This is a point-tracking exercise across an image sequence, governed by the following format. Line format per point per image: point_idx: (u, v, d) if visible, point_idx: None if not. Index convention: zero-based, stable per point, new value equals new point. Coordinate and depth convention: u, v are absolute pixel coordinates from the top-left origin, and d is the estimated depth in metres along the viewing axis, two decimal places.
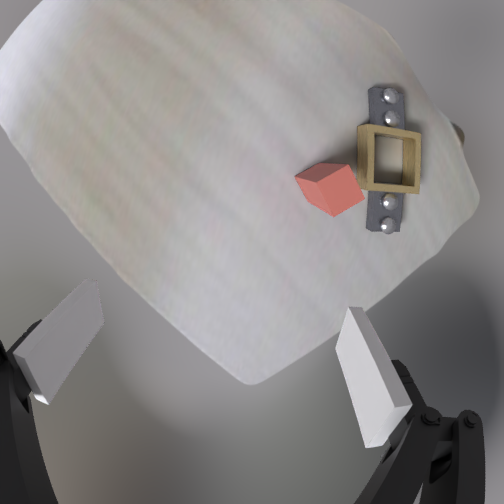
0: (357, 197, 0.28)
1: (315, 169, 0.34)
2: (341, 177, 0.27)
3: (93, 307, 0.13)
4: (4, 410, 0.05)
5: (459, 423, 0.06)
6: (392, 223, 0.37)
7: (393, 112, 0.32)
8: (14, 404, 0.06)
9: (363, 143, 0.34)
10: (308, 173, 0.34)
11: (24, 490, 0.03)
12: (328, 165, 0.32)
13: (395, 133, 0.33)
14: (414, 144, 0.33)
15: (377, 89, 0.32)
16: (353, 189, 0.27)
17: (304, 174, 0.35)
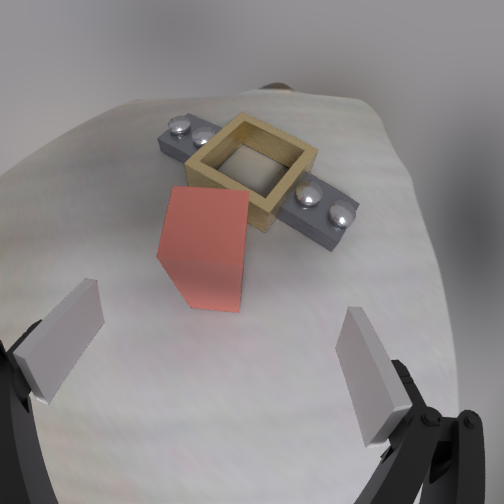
0: (238, 201, 0.14)
1: None
2: (182, 208, 0.14)
3: (93, 307, 0.13)
4: (4, 410, 0.05)
5: (459, 423, 0.06)
6: (341, 205, 0.24)
7: (197, 130, 0.27)
8: (14, 404, 0.06)
9: (207, 185, 0.25)
10: None
11: (24, 490, 0.03)
12: None
13: (220, 138, 0.26)
14: (251, 126, 0.27)
15: (162, 136, 0.27)
16: (218, 201, 0.14)
17: None
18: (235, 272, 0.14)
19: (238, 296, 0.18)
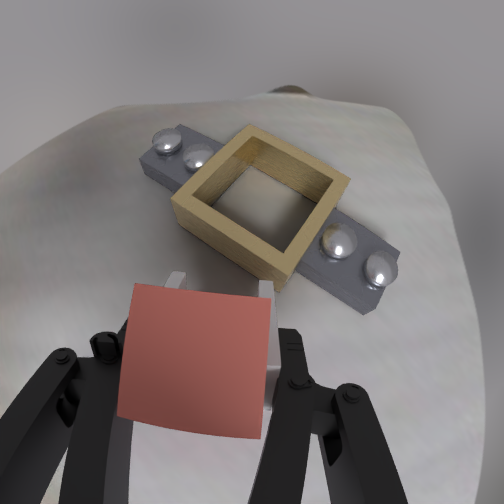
0: (250, 321, 0.08)
1: None
2: (152, 333, 0.07)
3: None
4: (105, 414, 0.06)
5: (337, 400, 0.08)
6: (381, 258, 0.18)
7: (190, 149, 0.21)
8: None
9: (203, 229, 0.19)
10: None
11: (99, 502, 0.04)
12: None
13: (220, 161, 0.19)
14: (261, 143, 0.21)
15: (146, 156, 0.21)
16: (215, 320, 0.08)
17: None
18: None
19: None
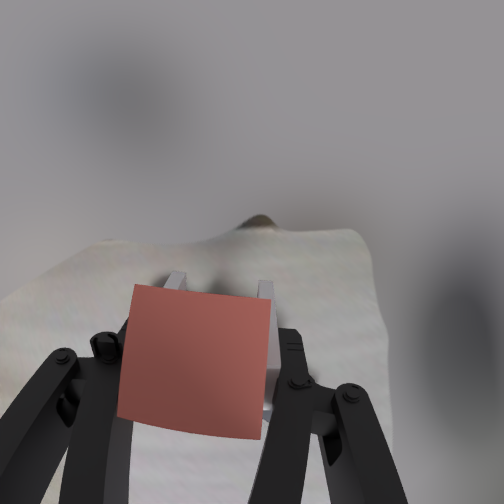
0: (250, 322, 0.08)
1: None
2: (152, 333, 0.07)
3: None
4: (105, 414, 0.06)
5: (337, 400, 0.08)
6: None
7: None
8: None
9: None
10: None
11: (99, 502, 0.04)
12: None
13: None
14: None
15: None
16: (215, 321, 0.08)
17: None
18: None
19: None
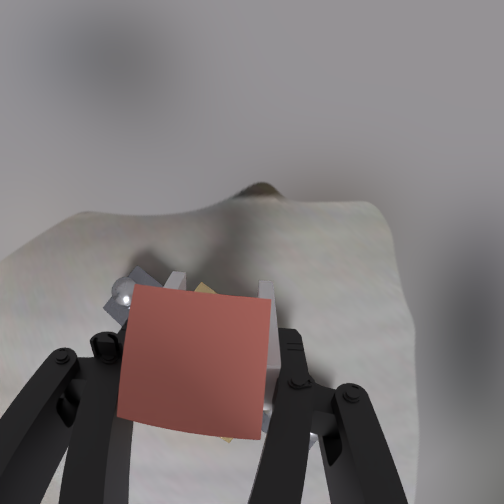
0: (250, 322, 0.08)
1: None
2: (151, 333, 0.07)
3: None
4: (105, 414, 0.06)
5: (337, 401, 0.08)
6: None
7: None
8: None
9: None
10: None
11: (99, 502, 0.04)
12: None
13: None
14: None
15: (108, 305, 0.22)
16: (215, 321, 0.08)
17: None
18: None
19: None
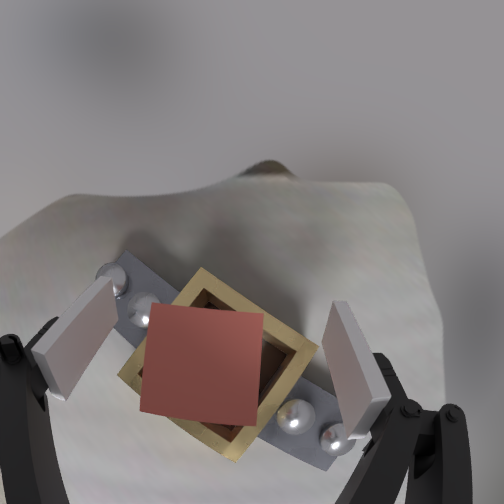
0: (247, 332, 0.09)
1: None
2: (167, 342, 0.09)
3: (108, 304, 0.13)
4: (20, 408, 0.05)
5: (441, 417, 0.07)
6: (339, 431, 0.15)
7: (134, 299, 0.18)
8: (30, 403, 0.06)
9: None
10: None
11: (36, 490, 0.03)
12: None
13: None
14: (214, 295, 0.18)
15: None
16: (218, 331, 0.09)
17: None
18: None
19: None
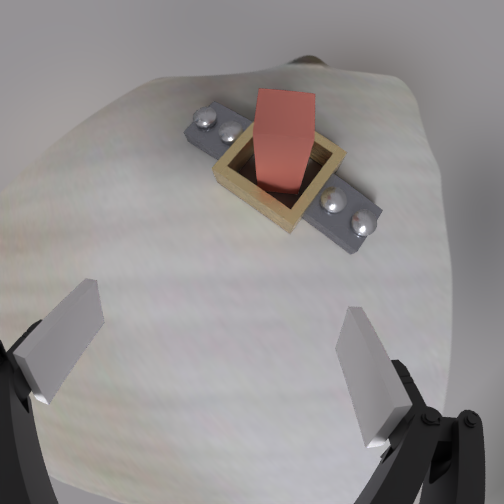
0: (307, 100, 0.17)
1: None
2: (268, 103, 0.18)
3: (93, 307, 0.13)
4: (4, 410, 0.05)
5: (459, 423, 0.06)
6: (364, 215, 0.24)
7: (224, 125, 0.26)
8: (14, 404, 0.06)
9: (235, 189, 0.26)
10: None
11: (24, 490, 0.03)
12: None
13: (247, 138, 0.25)
14: None
15: (189, 129, 0.27)
16: (293, 99, 0.18)
17: None
18: (307, 146, 0.18)
19: (302, 173, 0.23)
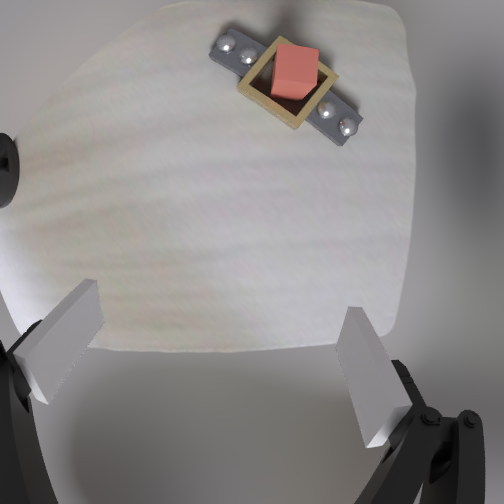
0: (313, 54, 0.22)
1: None
2: (285, 56, 0.22)
3: (93, 307, 0.13)
4: (5, 410, 0.05)
5: (459, 423, 0.06)
6: (349, 121, 0.32)
7: (242, 51, 0.29)
8: (14, 404, 0.06)
9: (254, 99, 0.32)
10: None
11: (24, 490, 0.03)
12: (274, 62, 0.27)
13: (263, 63, 0.29)
14: None
15: (212, 52, 0.29)
16: (303, 53, 0.22)
17: (271, 87, 0.30)
18: (311, 86, 0.24)
19: (305, 94, 0.28)
